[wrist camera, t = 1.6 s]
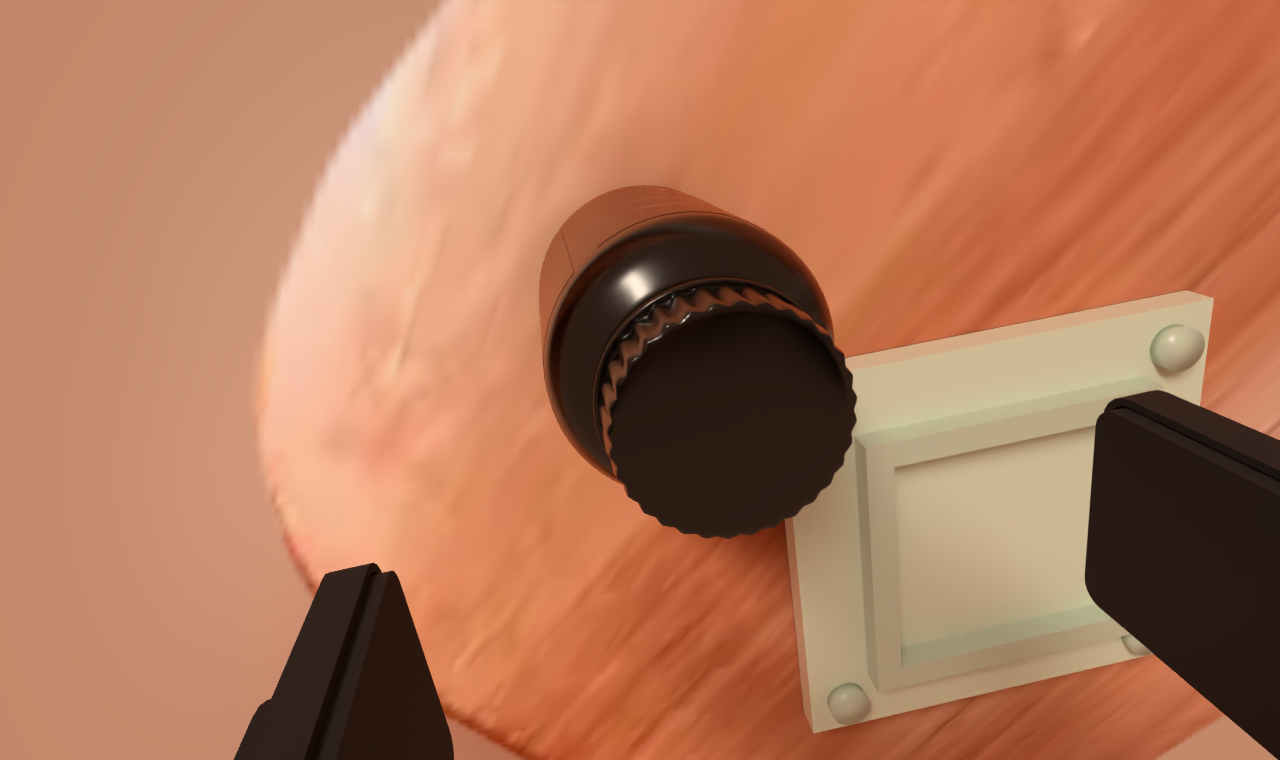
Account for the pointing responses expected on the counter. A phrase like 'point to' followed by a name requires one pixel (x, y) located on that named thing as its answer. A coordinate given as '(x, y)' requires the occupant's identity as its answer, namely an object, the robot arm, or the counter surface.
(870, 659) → the seating plate
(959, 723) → the counter surface
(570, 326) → the supplement bottle
